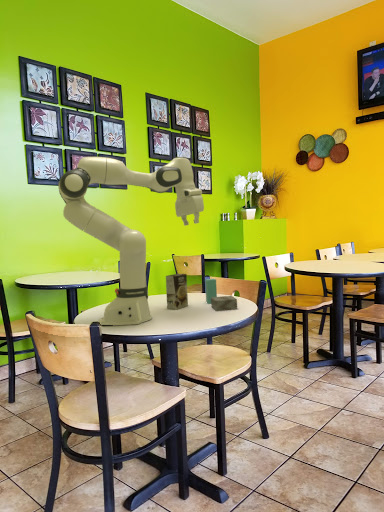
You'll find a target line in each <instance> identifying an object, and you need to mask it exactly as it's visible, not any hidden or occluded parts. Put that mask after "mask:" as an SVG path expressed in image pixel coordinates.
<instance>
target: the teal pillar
mask: <svg viewBox="0 0 384 512" xmlns="http://www.w3.org/2000/svg"><path fill="white" fill-rule="evenodd" d="M204 282H205V283H204V284H205V303H206V302H207V303H206V304H208V305H211V297H218V293H217V290H218V289H217V279H216V278H206V279H205V280H204Z"/></svg>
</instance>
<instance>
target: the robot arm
mask: <svg viewBox="0 0 384 512" xmlns="http://www.w3.org/2000/svg"><path fill="white" fill-rule="evenodd" d="M91 184H101V185H108V186H110V185H111V186H112V185H113V186H115V185H117V186H119V185H129V186H135V187H143V188H147V189H149V190H151V191H153V192H155V193H157V194H163V193H165V192H167V191H168V190H169V189H171V188H173V187H174V188H175V192H176V193H175V194H176V199H175V202H174V208H175V215H176V217H178V218H181V220H182V222H183V225H184V226H188V225H189V224H190V223H189V222H190V221H188V220H187V216H189V215H193V217H194V219H193V223H194V224H200V220H199V219H200V213H202V212H204V210H205V205H204V199H203V191H202V189H201V188H198V187H196V185H195V182H194V172H193V168H192V163H191V160H189V159H188V158H187V157H182V156H181V157H180V156H179V157H174V158H173V159H172V160H171V161H170V162H168V163H166V164H165V165H163V166H160V167H159V168H158V169H157V170H155V171H154V172H150V173H147V172H140V171H136V170H131V169H130V168H128V167H127V166H126V165H125V163H124V162H123V161H122V160H119V159H115V158H111V157H104V156H84V157H82V158H80V160H79V161H78V163H77V167H76V168H74V169H71V170H68V171H66V172H65V173H64V174H62V175H61V177H60V179H59V181H58V191H59V195H60V197H61V198H62V200H63V202H64V203H65V206H64V208H63V210H62V211H63V213H62V215H63V217H64V219H65V220H67V221H68V223H70V224H71V225H73V226H74V227H75V228H77V229H78V230H80V231H81V232H82V231H83V232H84V233H86V234H88V235H89V236H91V237H93V238H95V239H96V240H99V241H100V242H102V243H103V244H106V245H107V246H109V247H111V248H112V249H115V250H116V251H117V252H119V271H118V272H119V282H120V284H119V285H120V287H119V288H117V287H116V288H115V289H114V293H115V298H114V299H113V300H112V301H110V303H108V304H107V305H106V307H105V308H104V312H103V317H101V318H100V319H99V320H98V323H99V322H100V323H101V325H100V326H102V325H113V326H130V325H139V324H142V323H144V322H148V321H151V320H152V319H153V316H152V314H151V310H150V306H149V300H148V299H149V289H148V286H147V275H146V261H147V259H146V258H147V257H146V256H147V240H146V237H145V235H144V234H143V233H142V232H141V231H139V230H137V229H131V228H130V227H128V226H126V225H125V224H124V223H121V222H120V221H118V220H117V219H115V218H114V217H113V216H111V215H110V214H108V213H105V212H104V211H102V210H100V209H99V208H97V207H95V206H93V205H91V204H90V203H89V202H88V201H87V200H86V199H85V195H86V194H87V190H88V187H89V185H91Z"/></svg>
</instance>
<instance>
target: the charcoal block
mask: <svg viewBox="0 0 384 512" xmlns="http://www.w3.org/2000/svg"><path fill="white" fill-rule="evenodd" d="M210 306H211V308H212V309H213V310H214V311H215V312H223V311H224V312H225V311H233V310H238V299H237V298H236V297H234V296H232V295H225V296H223V295H221V296H217V297H211V304H210Z"/></svg>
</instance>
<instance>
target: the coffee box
mask: <svg viewBox="0 0 384 512" xmlns="http://www.w3.org/2000/svg"><path fill="white" fill-rule="evenodd" d="M187 277H188V275H187V273H175V274H169V275H165V284H166V285H165V288H166V290H165V291H166V308H167V309H170V310H180V309H182V308H186V307H188V306H189V299H188V298H189V297H188V283H187V282H188V279H187Z"/></svg>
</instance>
